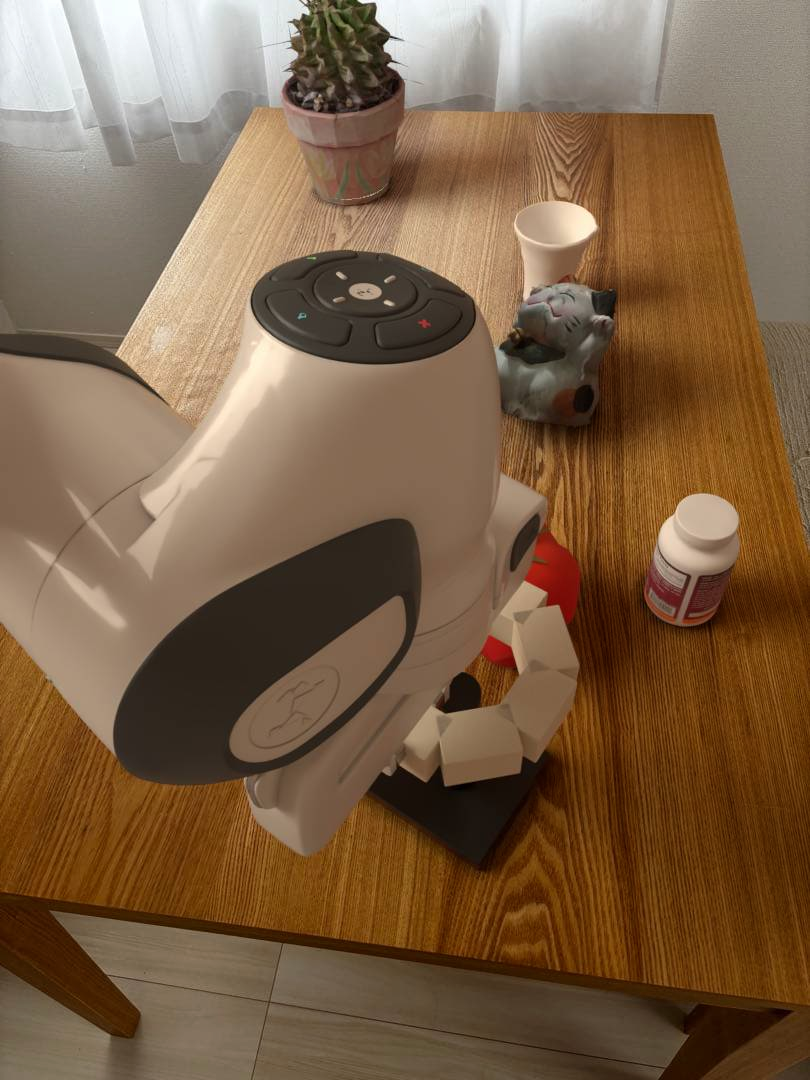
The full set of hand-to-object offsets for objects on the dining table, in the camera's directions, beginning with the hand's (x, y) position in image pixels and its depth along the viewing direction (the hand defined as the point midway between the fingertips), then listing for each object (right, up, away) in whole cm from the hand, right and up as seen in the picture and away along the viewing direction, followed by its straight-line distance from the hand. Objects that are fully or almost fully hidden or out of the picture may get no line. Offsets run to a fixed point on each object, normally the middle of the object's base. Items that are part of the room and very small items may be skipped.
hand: (409, 729), depth 50 cm
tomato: (+8, +4, +24) cm, 26 cm away
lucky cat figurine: (+14, +26, +41) cm, 51 cm away
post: (+4, -7, +15) cm, 17 cm away
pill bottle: (+23, +6, +25) cm, 34 cm away
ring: (+3, +2, +4) cm, 5 cm away
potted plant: (-7, +59, +68) cm, 90 cm away
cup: (+17, +39, +51) cm, 67 cm away
